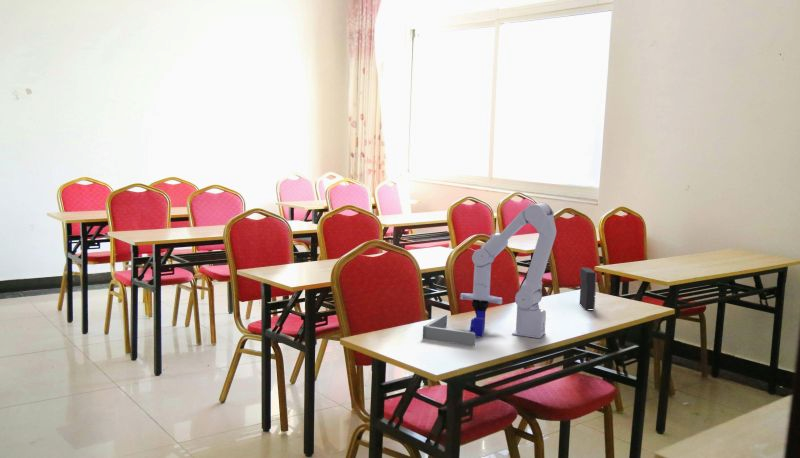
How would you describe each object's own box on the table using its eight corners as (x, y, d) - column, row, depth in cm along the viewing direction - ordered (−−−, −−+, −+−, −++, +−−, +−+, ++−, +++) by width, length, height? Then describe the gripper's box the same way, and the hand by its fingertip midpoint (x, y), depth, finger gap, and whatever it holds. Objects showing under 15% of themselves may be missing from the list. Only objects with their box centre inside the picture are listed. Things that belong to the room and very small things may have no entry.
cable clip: (471, 326, 252) (472, 309, 252) (484, 327, 252) (485, 310, 251) (468, 335, 241) (469, 318, 240) (482, 337, 240) (482, 319, 239)
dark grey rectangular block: (595, 310, 283) (598, 272, 281) (584, 310, 283) (586, 272, 281) (588, 304, 294) (591, 267, 292) (577, 304, 294) (580, 267, 292)
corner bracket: (491, 332, 246) (491, 320, 246) (473, 346, 229) (474, 333, 228) (443, 325, 253) (443, 314, 252) (422, 338, 236) (423, 326, 235)
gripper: (505, 283, 253) (503, 322, 255) (465, 279, 259) (463, 316, 261) (499, 287, 247) (497, 326, 248) (458, 282, 253) (457, 320, 254)
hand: (479, 321), depth 254 cm, fingers closed
